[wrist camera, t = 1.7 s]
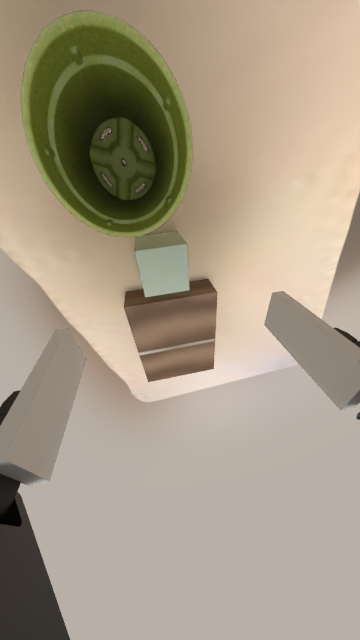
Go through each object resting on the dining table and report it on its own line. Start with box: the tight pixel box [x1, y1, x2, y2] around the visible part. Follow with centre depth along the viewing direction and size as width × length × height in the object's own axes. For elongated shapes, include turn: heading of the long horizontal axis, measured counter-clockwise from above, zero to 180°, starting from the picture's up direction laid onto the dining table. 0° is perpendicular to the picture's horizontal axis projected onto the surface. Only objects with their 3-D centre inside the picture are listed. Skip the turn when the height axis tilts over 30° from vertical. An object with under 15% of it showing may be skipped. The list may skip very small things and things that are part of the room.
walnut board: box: [124, 279, 217, 382], centre depth 29 cm, size 16×12×4 cm
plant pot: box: [21, 11, 193, 237], centre depth 14 cm, size 9×9×9 cm
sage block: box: [135, 231, 190, 297], centre depth 21 cm, size 5×5×6 cm
